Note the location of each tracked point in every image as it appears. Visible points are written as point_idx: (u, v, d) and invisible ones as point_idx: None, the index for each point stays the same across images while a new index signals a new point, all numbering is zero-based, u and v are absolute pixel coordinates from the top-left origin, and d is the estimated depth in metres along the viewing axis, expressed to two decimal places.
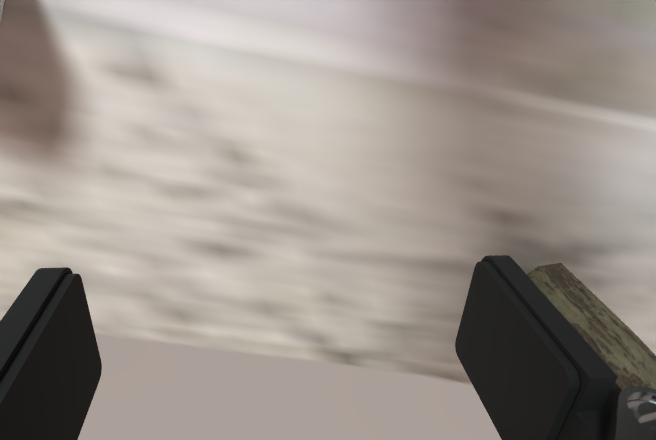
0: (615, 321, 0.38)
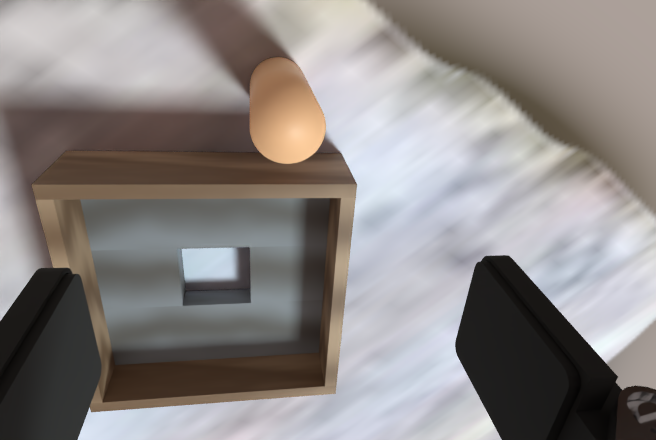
0: None
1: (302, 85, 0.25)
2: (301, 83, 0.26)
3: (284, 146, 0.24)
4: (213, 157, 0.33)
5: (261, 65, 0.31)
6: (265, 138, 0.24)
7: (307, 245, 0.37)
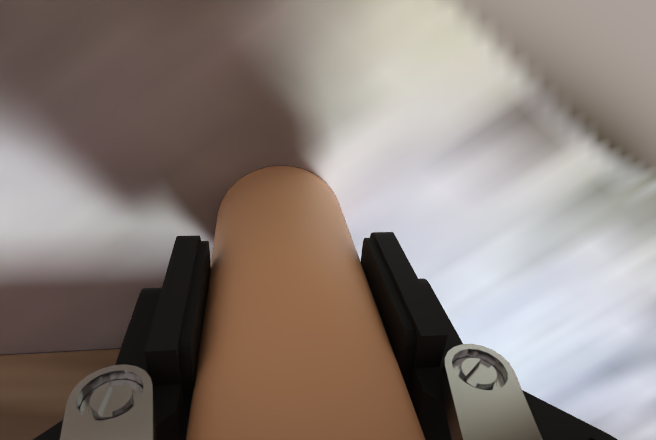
0: None
1: (365, 366, 0.07)
2: (358, 344, 0.08)
3: None
4: None
5: (240, 194, 0.13)
6: None
7: None
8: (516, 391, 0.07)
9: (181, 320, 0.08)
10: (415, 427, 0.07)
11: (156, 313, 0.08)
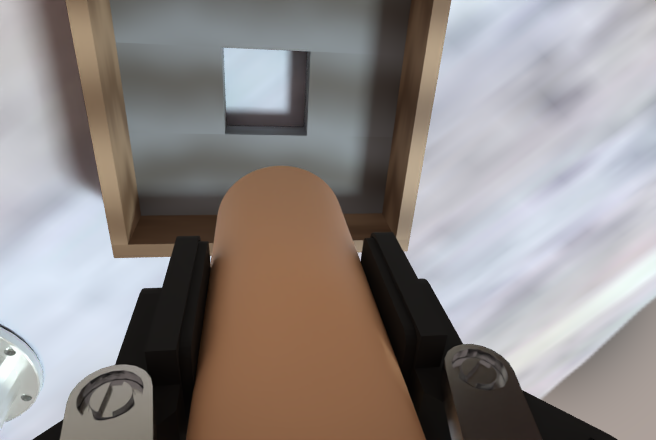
0: None
1: (365, 367, 0.07)
2: (359, 345, 0.08)
3: None
4: None
5: (240, 194, 0.13)
6: None
7: (380, 54, 0.30)
8: (516, 391, 0.07)
9: (182, 320, 0.08)
10: (416, 428, 0.07)
11: (156, 313, 0.08)
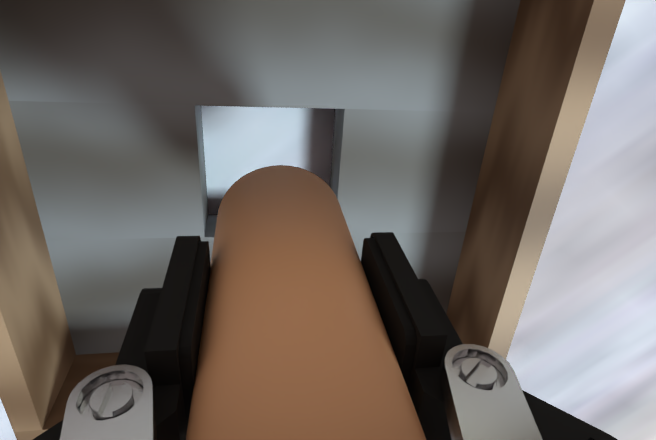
0: None
1: (365, 366, 0.07)
2: (359, 345, 0.08)
3: None
4: None
5: (240, 194, 0.13)
6: None
7: (456, 111, 0.18)
8: (516, 391, 0.07)
9: (181, 320, 0.08)
10: (416, 427, 0.07)
11: (156, 313, 0.08)
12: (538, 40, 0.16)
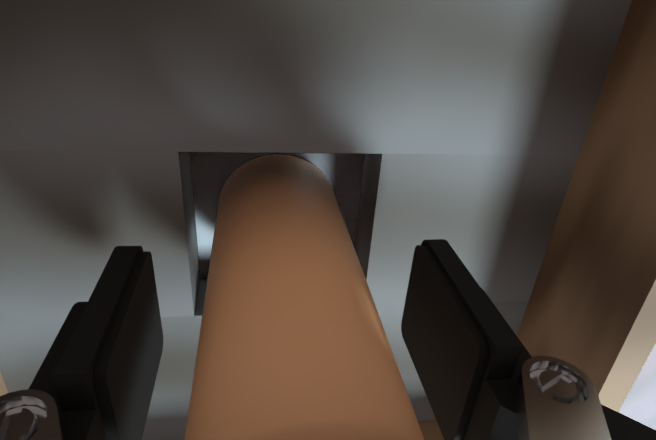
0: None
1: (351, 323, 0.08)
2: (346, 306, 0.08)
3: None
4: None
5: (240, 180, 0.14)
6: None
7: (529, 154, 0.14)
8: (595, 410, 0.07)
9: (100, 340, 0.08)
10: (396, 376, 0.08)
11: (74, 332, 0.08)
12: None
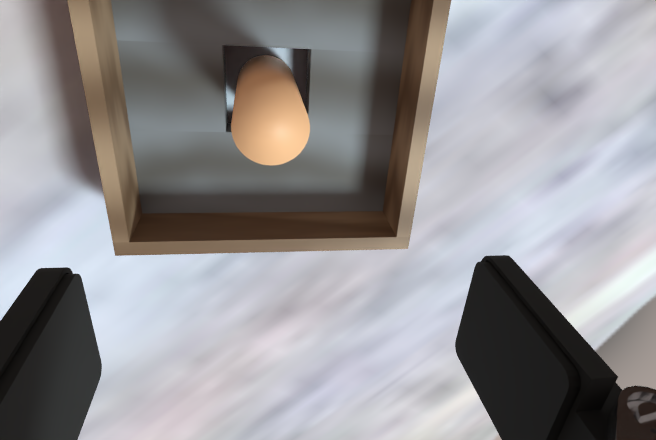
0: None
1: (286, 84, 0.24)
2: (285, 82, 0.25)
3: (268, 147, 0.24)
4: None
5: (248, 63, 0.30)
6: (247, 139, 0.23)
7: (380, 52, 0.30)
8: None
9: None
10: (300, 98, 0.24)
11: None
12: (419, 6, 0.27)
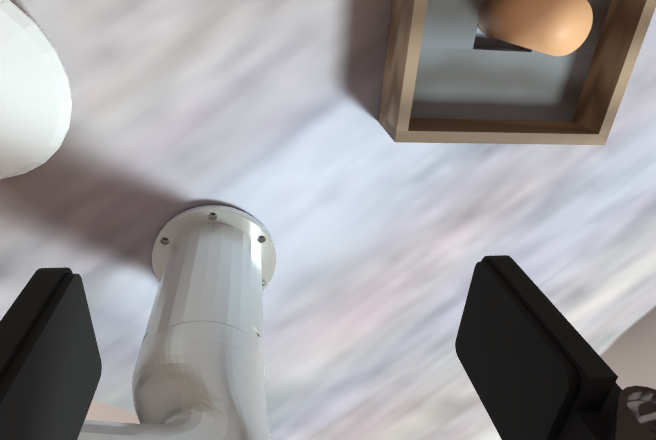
0: None
1: None
2: None
3: (559, 41, 0.33)
4: None
5: None
6: (547, 34, 0.32)
7: None
8: None
9: None
10: None
11: None
12: None
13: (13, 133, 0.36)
